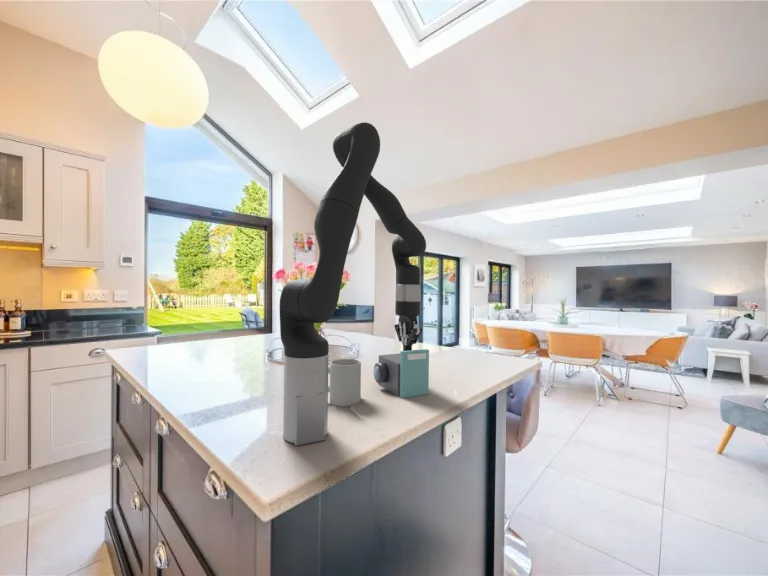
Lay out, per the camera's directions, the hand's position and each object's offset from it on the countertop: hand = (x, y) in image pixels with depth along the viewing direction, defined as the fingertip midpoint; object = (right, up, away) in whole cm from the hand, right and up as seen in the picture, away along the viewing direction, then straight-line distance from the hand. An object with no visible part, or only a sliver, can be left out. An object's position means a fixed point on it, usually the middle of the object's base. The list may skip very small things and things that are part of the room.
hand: (407, 357), depth 99 cm
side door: (+2, -10, -4) cm, 11 cm away
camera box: (-3, -11, +2) cm, 11 cm away
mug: (-19, -11, -8) cm, 24 cm away
